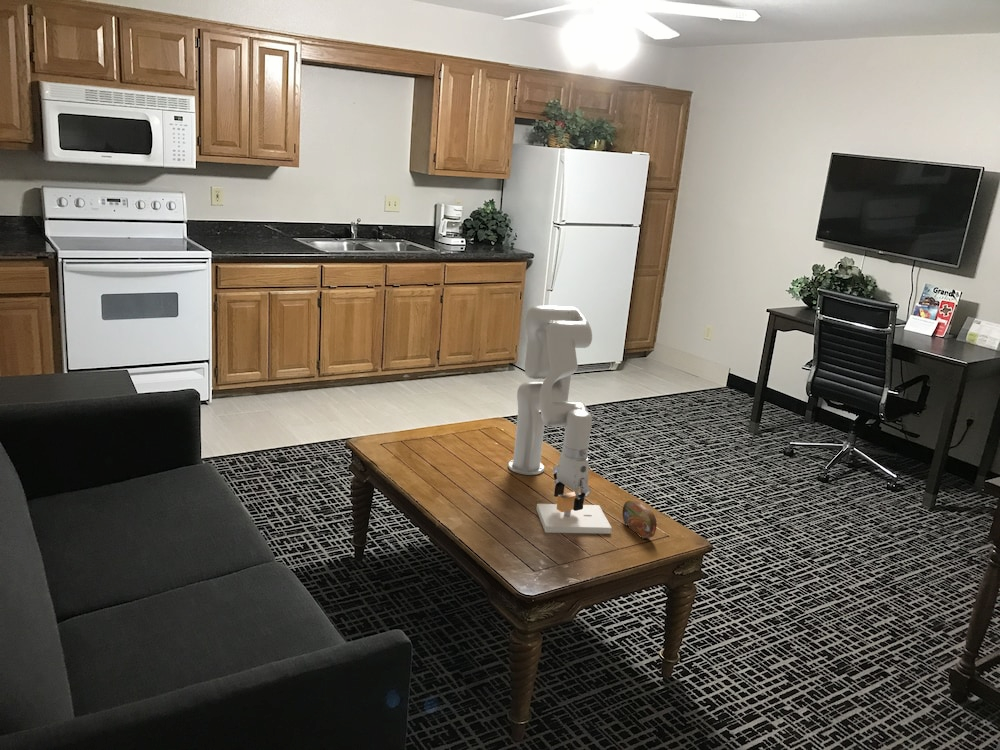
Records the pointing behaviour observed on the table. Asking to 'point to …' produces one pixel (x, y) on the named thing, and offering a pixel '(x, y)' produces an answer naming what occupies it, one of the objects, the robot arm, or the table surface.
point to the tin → (639, 519)
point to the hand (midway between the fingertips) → (568, 502)
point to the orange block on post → (566, 501)
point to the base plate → (573, 520)
